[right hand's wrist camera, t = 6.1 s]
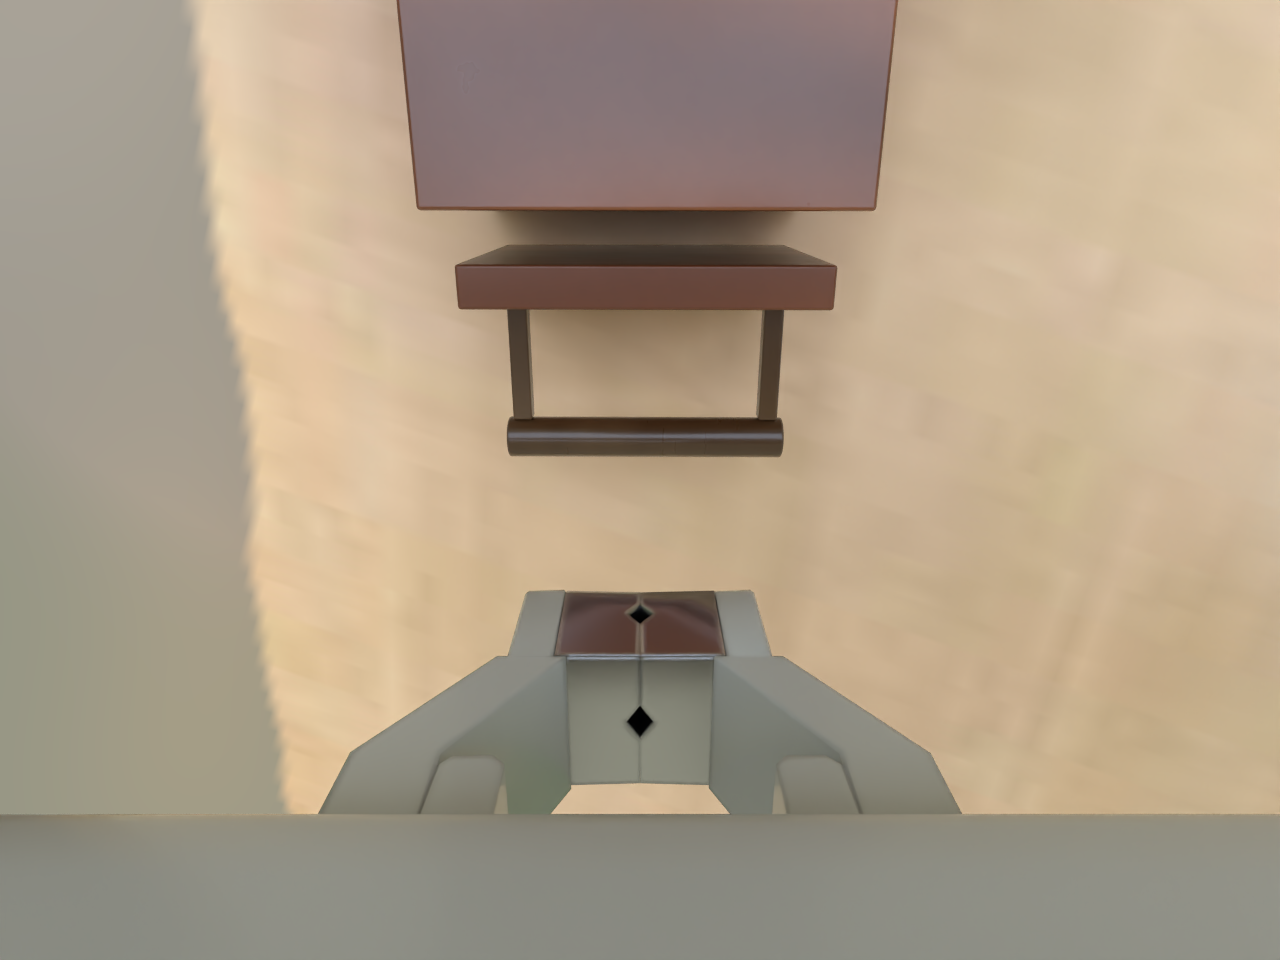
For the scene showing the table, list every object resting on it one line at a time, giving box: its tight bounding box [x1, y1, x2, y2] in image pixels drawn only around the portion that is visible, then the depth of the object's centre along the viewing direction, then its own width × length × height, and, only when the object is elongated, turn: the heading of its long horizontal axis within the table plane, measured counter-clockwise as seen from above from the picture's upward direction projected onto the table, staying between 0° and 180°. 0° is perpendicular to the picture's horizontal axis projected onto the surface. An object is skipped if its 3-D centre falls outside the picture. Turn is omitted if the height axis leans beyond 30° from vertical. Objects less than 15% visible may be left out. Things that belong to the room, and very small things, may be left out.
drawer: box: [455, 245, 837, 457], centre depth 22 cm, size 24×10×8 cm, turn 0°
